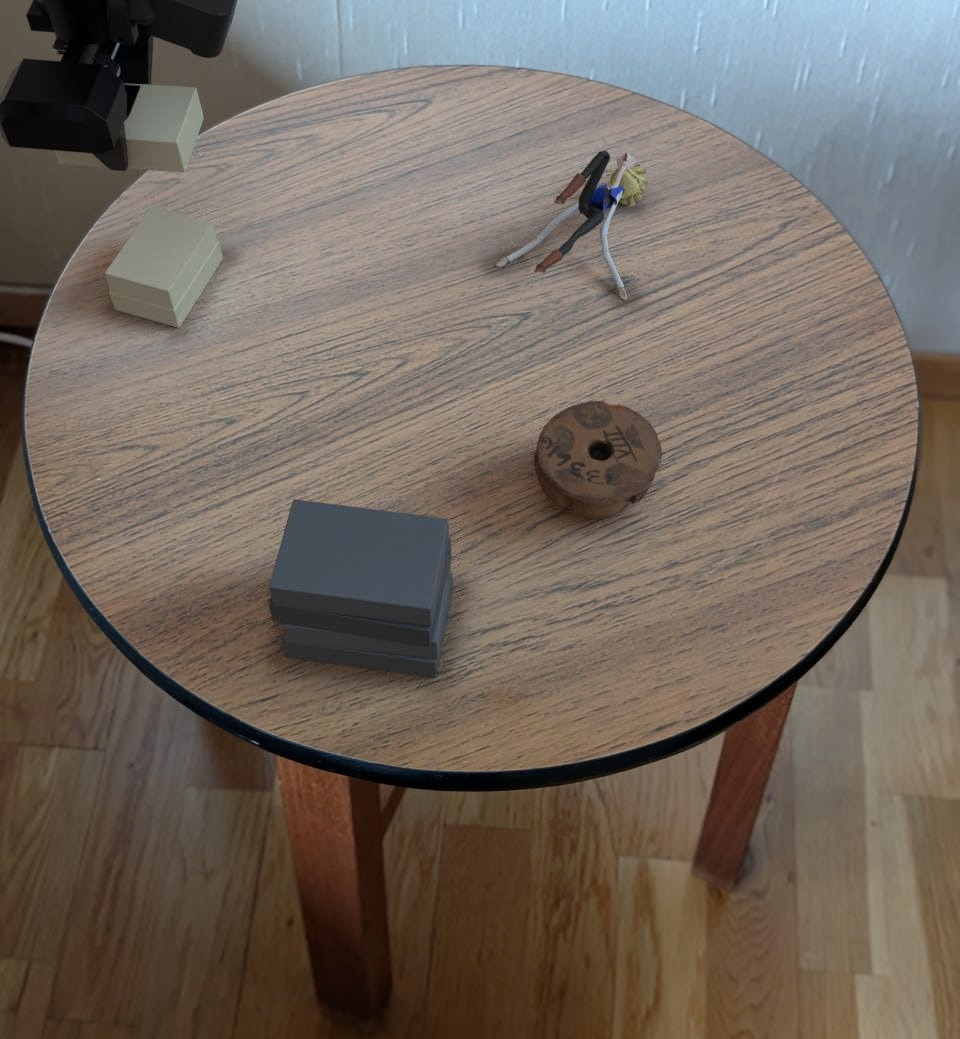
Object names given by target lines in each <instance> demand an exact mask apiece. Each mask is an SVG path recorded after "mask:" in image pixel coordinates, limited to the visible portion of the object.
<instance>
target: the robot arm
mask: <svg viewBox="0 0 960 1039" xmlns="http://www.w3.org/2000/svg"><path fill="white" fill-rule="evenodd" d="M237 4H238V0H32V1H31V4H30V6H29V8H28V10H27V12H26V15H25V17H26V20H27V22H28V25H29V29H30V31H32V32H42V33H54V36H55V40H54V41H53V44H52V52H53V53H54V54H55V55H62V56H61V59H60V60H49V59H48V60H47V59H37V58H22V59H21V61H19V63H18V64H17V65H16V66H15V67H14V69H12V71H11V73H10V74H9V77H8V79H7V80H6V82H5V85H4V87H3V89H2V91H1V94H0V134H1V138H2V140H3V141H4V142H5V143H6V144H7V146H9V147H10V148H20V149H21V148H22V149H34V150H46V151H54V150H56V151H68V152H80V153H92V154H93V155H94V156H95V157H96V158H97V159H99V160H100V161H101V162H102V163H103V164H104V165H105V166H106V167H105V168H107V169H109V170H111V171H115V172H116V171H118V172H126V171H127V170H128V169H127V167H128V155H127V143H126V134H125V125H124V121H126V120H127V119H128V117H129V116H130V113H131V111H132V108H133V106H134V103H135V100H136V98H137V95H138V93H139V90H140V86H137V85H125V84H124V83H130V84H146V85H152V75H153V74H152V73H153V56H154V55H153V53H154V38H156V39H159V40H162V41H165V42H168V43H170V44H173V45H176V46H178V47H182V48H184V49H187V50H189V51H190V52H191V53H192V54H193V55H195V56H197V57H199V58H204V59H205V58H206V59H213V58H217V57H219V56H220V55H221V53H222V51H223V49H224V46H225V43H226V39H227V37H228V33H229V31H230V29H231V26H232V23H233V19H234V16H235V12H236V8H237Z"/></svg>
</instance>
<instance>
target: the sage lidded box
mask: <svg viewBox="0 0 960 1039" xmlns="http://www.w3.org/2000/svg"><path fill="white" fill-rule="evenodd" d="M216 233H217V232H216V228H215V224H214V222H213V221H210V220H205V219H202V218H198V217H194V216H190V215H187V214H183V213H179V212H176V211H172V210H168V209H165V208H162V207H161V208H160V207H157V206H154V205H151V206H150V207H149V209H147V212H146V213H145V215H144V216H143V217H142V219H141V220H140V222H139V223H138V224H137V226H136V228H135V229H134V230H133V231H132V233H131V234H130V236H129V237H128V238H127V241H126V242H125V243H124V244H123V246H122V248H121V249H120V251H119V252H118V253H117V254H116V256H115V258H114V259H113V260H112V261H111V263H110V265H109V266H108V268H107V269H106V270H105V272H104V276H105V278H106V281H107V285H108V288H109V292H108V294H109V297H110V300H111V303H112V306H113V309H114V310H115V311H118V312H120V313H124V314H128V315H132V316H135V317H139V318H142V319H146V320H148V321H153V322H157V323H160V324H164V325H166V326H170V327H174V328H177V329H179V328H181V326H182V324H183V323H184V322H185V319H186V318H187V317H188V316H189V313H190V312H191V310H192V309H193V307H194V305H195V304H196V303H197V301H198V299H199V298H200V297H201V295H202V293H203V291H204V290H205V288H206V287H207V285H208V284H209V282H210V280H211V279H212V278H213V276H214V274H215V272H216V271H217V269H218V268H219V266H220V264H221V263H222V261H223V260H224V255H223V252H222V246H221V241H220V240H218V238H217V234H216Z"/></svg>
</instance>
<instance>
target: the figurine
mask: <svg viewBox="0 0 960 1039" xmlns="http://www.w3.org/2000/svg"><path fill="white" fill-rule="evenodd" d="M610 159H611V155H610V153H609V152H608V151H607V150H601V151H598V152H597V153H596V155H595V156H594V157H593V158H592V159H591V160H590V161H589V163H588V164H587V165H586V166H585V167H584V169H583V170H582V171H581V173H580V172H577V173H576V174H575V175H574V177H573V178H572V179H571V181H570V182H569V183H568V185H567V186H566V187H565V188H564V189H563V191H562V192H560V193H559V195H557V196H556V198H555V200H554V201H553V203H554V204H558V205H564V204H565V203H566V200H567V199H569V198H571V197H572V196H574V194H575V193H576V192H577V191H578V190H579V189H580V188H581V187H582V186H584V187H583V188H582V191H581V192H580V195H579V197H578V201H577V202H575V203H574V204H573V205H571V206H570V207H568V208H567V209H565V210H563V211H562V212H561V213H560V214H558V215H557V216H556V217H555V218H553V219H551V221H550V222H549V223H548V224H547V225H546V226H545V227H544V228H543V229H542V231H540V233H538V234H537V237H535V238H534V239H533V240H532V241H530V242H528V243H526V244H525V245H524V246H522V247H521V248H518V249H516V250H515V251H514V252H512V253H510V254H508V255H506V256H505V257H503V258H501V259H500V260H498V261H497V262H496V263H495V267H497V268H498V267H499V268H501V267H504V266H505V265H507V263H511V262H513V261H514V260H516V259H518V258H519V257H521V256H523V255H524V254H526V253H528V252H529V251H531V250H533V249H534V248H535V247H537V246H538V245H540V244H541V243H542V242H543V241H544V240H545V239H546V237H547V236H548V235H549V234H550V233H551V232H553V231H554V229H555V228H556V227H557V226H558V225H560V224H562V223H563V221H565V220H566V219H567V218H569V217H570V216H571V215H573V214H574V213H576V212H577V211H579V214H581V215H583V216H585V218H586V220H584V222H582V223H581V225H579V227H577V228H576V229H575V230H574V231H573V233H572V234H571V235H570V237H569V238H568V239H567V240H566V241H565V242H564V243H563V244H562V245H561V246H559V248H556V249H554V250H552V252H550V253H549V254H548V255H547V256H546V257H545V258H544V259H543V260H542V261H540V263H538V264H536V268H534V271H533V272H534V273H542V274H544V273H545V272H546V271H547V270H548V269H549V268H551V267H553V266H554V265H555V264H557V263H559V262H561V261H562V260H563V258H564V256H565V255H566V254H568V253H569V252H570V251H571V250H572V248H574V244H575V243H576V241H578V240H579V238H582V237H583V236H585V235H587V234H588V233H590V232H591V231H593V230H594V229H595V228H597V227H598V226H599V225H601V226H600V228H599V241H600V245H601V249H602V255H603V259H604V261H605V263H606V265H607V268H608V271H609V273H610V276H611V277H612V279H613V281H614V284H615V286H616V288H617V290H618V294H619V296H620V298H621V299H622V300H624V301H627V300H628V295H627V292H626V289H625V285H624V283H623V281H622V278H621V276H620V274H619V272H618V270H617V267H616V265H615V263H614V261H613V259H612V256H611V253H610V251H609V241H608V234H609V227H610V223H611V219H612V217H613V215H614V213H615V211H616V209H617V207H618V204H619V202H620V203H621V204H622V205H624V206H625V205H627V204H628V200H629V204H630V205H628V206H629V207H634V206H635V204H636V202H639V201H641V199H642V195H644V194H645V193H646V189H645V187H644V185H647V186H649V180H646V178H645V177H644V176H643V175H640V174H647V168H646V169H645V168H638V167H642V164H641V162H640V161H639V160H638V159H636V158H635V157H633V156H631V155H630V154H629V153H628V152H625V153H624V154H623V155H622V156H618V157H616V160H615V161H616V165H617V168H616V169H614V170H608V169H606V168H607V166H608V165H609V162H610V161H611V160H610ZM671 169H673V166H671ZM605 172H606V173H612V174H611V176H610V178H609V181H608V184H607V183H604V184H602V185H599V183H600V181H601V179H602V177H603V175H604V173H605ZM643 184H644V185H643ZM641 194H642V195H641ZM634 196H635V197H634ZM635 198H636V200H635ZM606 209H609V211H608V212H607V214H606V216H605V213H606ZM601 223H602V224H601Z"/></svg>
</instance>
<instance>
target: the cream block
mask: <svg viewBox="0 0 960 1039" xmlns="http://www.w3.org/2000/svg"><path fill="white" fill-rule="evenodd" d="M124 84H125V85H137V86H140V90H139V93H138V95H137V98H136V100H135V103H134V106H133V108H132V111H131V113H130V116H129V117H128V119H127V120H126V121H124V125H125V134H126V143H127V155H128V167H127V170H140V171H157V172H170V173H171V172H172V173H186V172H187V168H188V166H189V163H190V160H191V157H192V154H193V151H194V148H195V145H196V143H197V140H198V136H199V134H200V130H201V128H202V124H203V122H204V119H205V117H204V113H203V109H202V105H201V101H200V96H199V93H198V92H199V91H198V89H197V87H193V86H177V85H161V84H151V85H146V84H130V83H124ZM53 151H54V153H55V156H56V159H57V162H58V164H59V165H65V166H66V165H67V166H81V167H95V168H107V167H106V166H105V165H104V164H103V163H102V162H101V161H100V160H99V159H97V158H96V157H95V156H94V155H93V154H92V153H80V152H68V151H56V150H53Z"/></svg>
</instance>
